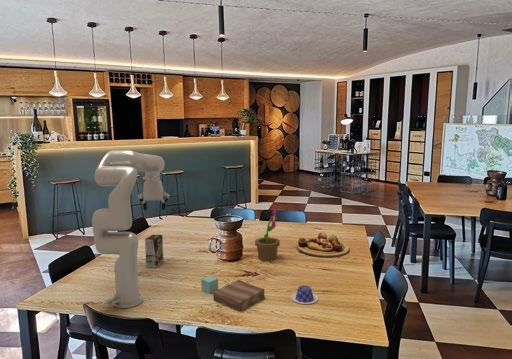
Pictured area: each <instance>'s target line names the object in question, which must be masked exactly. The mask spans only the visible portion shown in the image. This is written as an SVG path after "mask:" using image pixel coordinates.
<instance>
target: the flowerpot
mask: <svg viewBox="0 0 512 359" xmlns="http://www.w3.org/2000/svg"><path fill="white" fill-rule="evenodd" d="M271 212H272V214H271V215H272V216H270V219H269V222H268V223H267V226H266V233H264V235H263V236H264V237H259V238H257V239H255V241H254V245H255V247H257V248H256V249H257V256H258V260H259V261H262V262H272V261H276V260H277V256H278V255H277V254H278V247H280V239H278V238H276V237H269V232H271V231H272V230H273V229H275V228H276V225H277V223H276V221H278V217H277V216H276V215H277V208H275V209H274V208H272V210H271Z"/></svg>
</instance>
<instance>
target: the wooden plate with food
mask: <svg viewBox="0 0 512 359" xmlns="http://www.w3.org/2000/svg"><path fill="white" fill-rule="evenodd" d="M296 248H297V250H298V251H299V252H300V253H302V254H303V255H306V256H309V257H313V258H314V257H315V258H324V259H326V258H327V259H332V258H338V257H339V258H340V257H342V256H345V255H347V254H348V253H349V252H350V246H349V245H348V244H347V243H345V242H343V241H340V240H339V239H338V237H337V236H336V235H335V234H331V235H329V237H328V236H327V234H326V232H323V231H321V232H320V233H318V235H317V237H307V238H304V237H299V238H298V242H297V243H296Z"/></svg>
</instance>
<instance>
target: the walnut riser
mask: <svg viewBox="0 0 512 359" xmlns="http://www.w3.org/2000/svg"><path fill="white" fill-rule="evenodd" d="M212 293H213V301H215V302H217V303H219V304H222V305H223V306H227V307H229V308H231V309H233V310H236V311H238V312H242V311H244V310H246V309H247V308H249V307H251V306H253V305H254V304H257V303H258V302H259V301H261V300H264V299H265V289H264V288H262V287H259V286H257V285H254V284H251V283H249V282H245V281H242V280H240V279H237V280H235V281H233V282H231V283H229V284H227V285H225V286H222V287H220V288H218V290H216V291H214V292H212Z"/></svg>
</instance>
